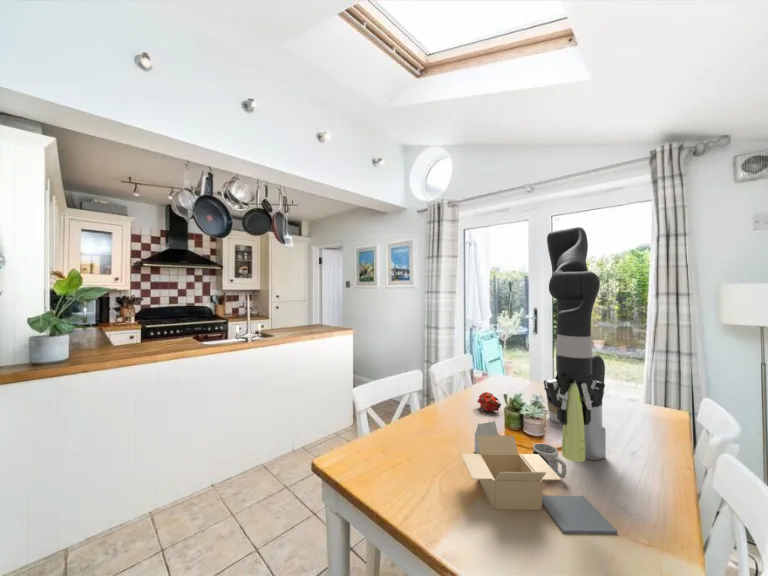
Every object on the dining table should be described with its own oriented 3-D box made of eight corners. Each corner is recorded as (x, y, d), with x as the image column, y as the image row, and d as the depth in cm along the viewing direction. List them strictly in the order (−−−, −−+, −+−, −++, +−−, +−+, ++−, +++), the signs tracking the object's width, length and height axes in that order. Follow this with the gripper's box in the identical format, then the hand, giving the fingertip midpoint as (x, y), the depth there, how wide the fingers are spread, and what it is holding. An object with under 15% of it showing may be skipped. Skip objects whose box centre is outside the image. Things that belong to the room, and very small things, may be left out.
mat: (583, 498, 82) (583, 495, 82) (617, 533, 70) (617, 531, 70) (537, 497, 82) (537, 495, 82) (563, 533, 70) (563, 530, 70)
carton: (532, 472, 94) (532, 435, 94) (570, 519, 74) (570, 472, 74) (458, 471, 94) (458, 434, 94) (476, 517, 75) (476, 471, 75)
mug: (528, 467, 96) (528, 445, 96) (543, 462, 99) (543, 441, 99) (557, 486, 87) (557, 462, 87) (573, 480, 90) (573, 457, 90)
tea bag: (498, 453, 105) (498, 423, 105) (481, 456, 102) (481, 426, 102) (491, 448, 108) (491, 419, 108) (474, 451, 106) (474, 421, 106)
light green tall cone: (592, 463, 74) (592, 380, 74) (574, 465, 73) (574, 381, 73) (573, 451, 79) (573, 373, 80) (556, 453, 78) (556, 375, 78)
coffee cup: (575, 418, 133) (575, 383, 133) (575, 428, 124) (574, 390, 124) (545, 412, 139) (545, 378, 140) (542, 421, 130) (542, 385, 130)
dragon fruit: (480, 408, 148) (498, 421, 138) (469, 400, 145) (487, 413, 134) (490, 393, 150) (509, 405, 139) (479, 385, 146) (498, 396, 135)
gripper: (593, 350, 80) (593, 417, 80) (536, 350, 80) (536, 417, 80) (614, 356, 73) (614, 430, 72) (552, 356, 73) (552, 430, 73)
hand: (573, 423), depth 76 cm, fingers closed on light green tall cone, 4 cm apart
